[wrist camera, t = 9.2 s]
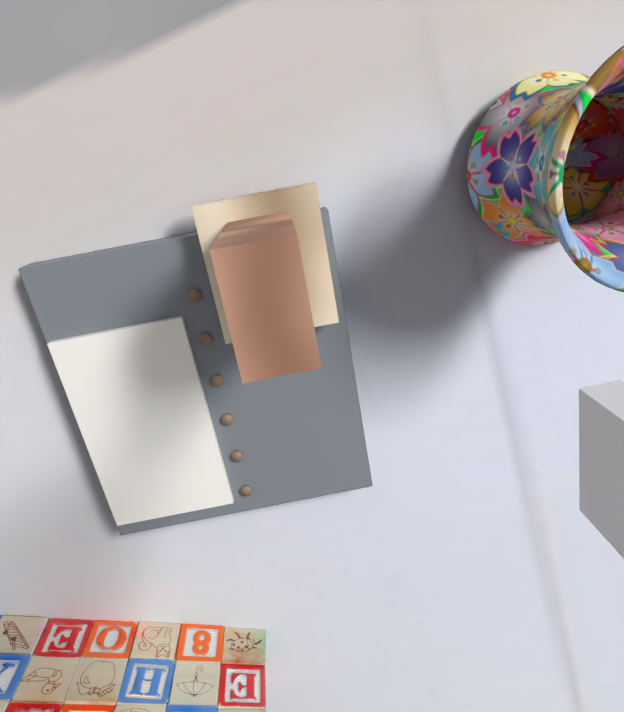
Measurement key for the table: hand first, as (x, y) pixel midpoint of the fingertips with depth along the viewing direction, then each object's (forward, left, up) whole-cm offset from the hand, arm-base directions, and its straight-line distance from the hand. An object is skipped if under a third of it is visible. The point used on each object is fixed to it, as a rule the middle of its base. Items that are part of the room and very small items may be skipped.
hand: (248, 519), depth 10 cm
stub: (+1, +1, -19) cm, 19 cm away
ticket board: (-4, -5, -21) cm, 22 cm away
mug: (+17, +4, -21) cm, 27 cm away
